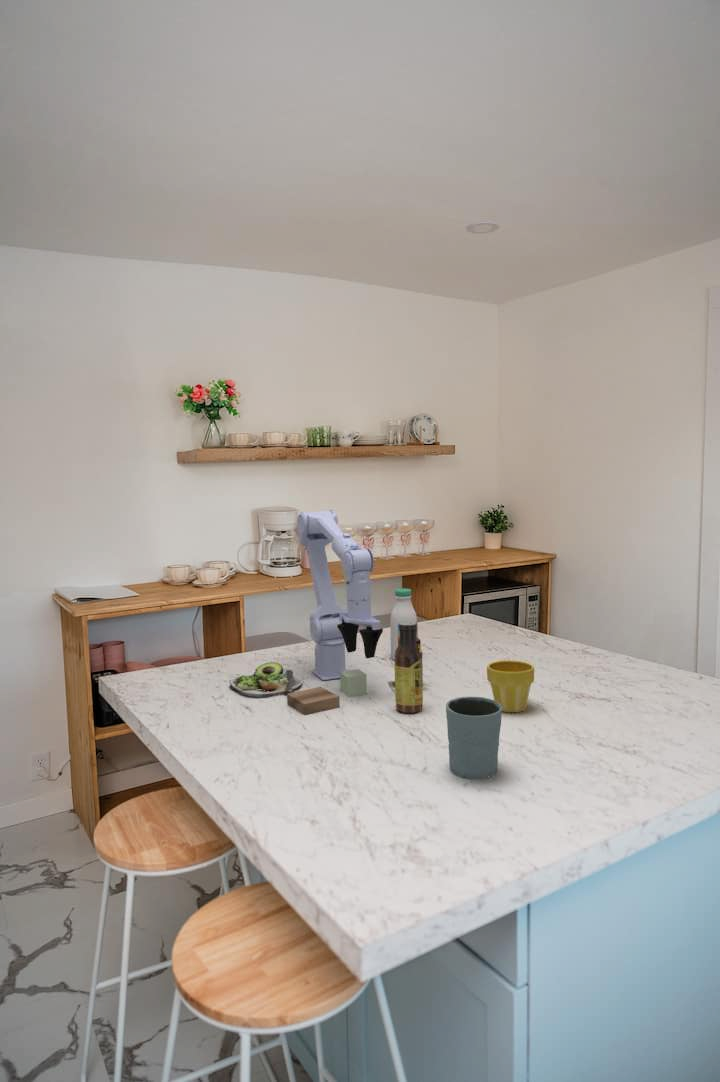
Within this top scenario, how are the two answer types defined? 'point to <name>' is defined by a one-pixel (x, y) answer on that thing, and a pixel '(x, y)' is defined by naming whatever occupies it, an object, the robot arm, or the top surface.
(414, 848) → the top surface
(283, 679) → the salad plate
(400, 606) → the milk bottle
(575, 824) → the top surface
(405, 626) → the sauce bottle
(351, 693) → the sage cube
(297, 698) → the walnut block
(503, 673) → the plant pot
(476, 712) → the grey blue cup
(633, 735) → the top surface
